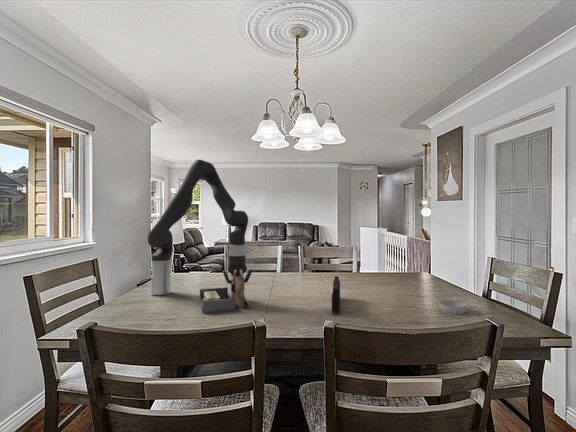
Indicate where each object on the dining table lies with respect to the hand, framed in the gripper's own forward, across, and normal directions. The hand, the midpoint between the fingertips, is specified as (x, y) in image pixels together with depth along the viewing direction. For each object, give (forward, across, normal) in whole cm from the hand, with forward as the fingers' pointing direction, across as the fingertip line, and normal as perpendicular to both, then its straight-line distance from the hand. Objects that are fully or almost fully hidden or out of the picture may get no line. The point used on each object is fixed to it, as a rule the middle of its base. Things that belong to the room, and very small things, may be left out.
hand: (237, 291), depth 166 cm
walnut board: (+5, 0, 0) cm, 5 cm away
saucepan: (+6, -86, +39) cm, 95 cm away
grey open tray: (+5, +6, 0) cm, 8 cm away
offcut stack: (+6, +12, 0) cm, 13 cm away
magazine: (+6, -41, +18) cm, 45 cm away
